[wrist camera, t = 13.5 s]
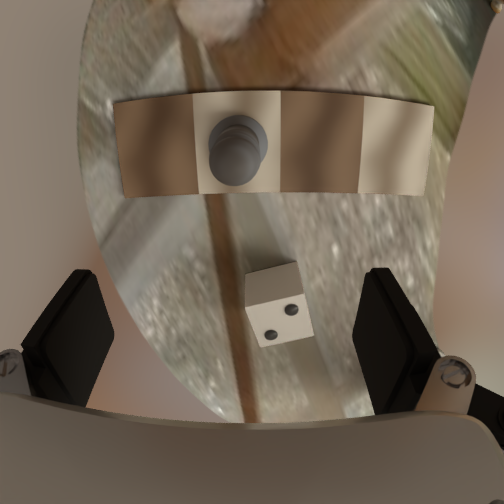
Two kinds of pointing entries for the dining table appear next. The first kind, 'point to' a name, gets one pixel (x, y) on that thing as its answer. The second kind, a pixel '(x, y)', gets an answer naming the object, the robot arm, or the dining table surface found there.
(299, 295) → the die
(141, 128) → the game board
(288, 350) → the dining table surface
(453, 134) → the dining table surface
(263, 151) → the pawn
